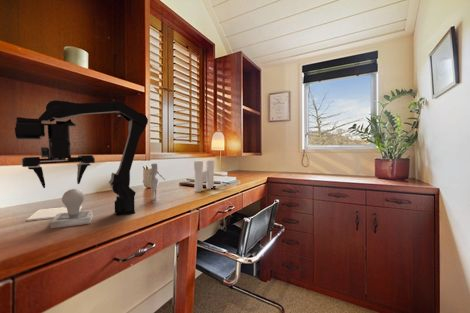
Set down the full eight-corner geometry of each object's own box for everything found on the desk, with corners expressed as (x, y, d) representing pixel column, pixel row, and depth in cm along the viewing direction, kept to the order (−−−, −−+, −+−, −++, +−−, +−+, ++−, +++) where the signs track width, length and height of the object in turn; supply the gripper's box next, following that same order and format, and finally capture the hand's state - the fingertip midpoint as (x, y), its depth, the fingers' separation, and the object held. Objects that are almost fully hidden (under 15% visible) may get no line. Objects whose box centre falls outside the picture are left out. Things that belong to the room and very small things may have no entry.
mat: (82, 207, 94) (82, 205, 94) (76, 215, 82) (76, 214, 82) (39, 211, 88) (39, 209, 88) (26, 221, 75) (26, 219, 75)
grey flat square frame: (93, 215, 83) (93, 209, 83) (90, 223, 74) (90, 217, 74) (58, 219, 78) (58, 213, 78) (50, 228, 69) (50, 222, 69)
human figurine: (162, 197, 114) (162, 162, 113) (167, 198, 111) (167, 163, 111) (140, 201, 104) (140, 163, 104) (144, 203, 102) (144, 164, 101)
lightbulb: (81, 217, 80) (80, 187, 80) (87, 220, 76) (86, 189, 76) (60, 221, 75) (59, 189, 75) (65, 225, 71) (64, 191, 71)
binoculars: (209, 187, 147) (209, 160, 146) (215, 188, 144) (216, 160, 143) (192, 191, 132) (192, 161, 131) (199, 192, 129) (199, 161, 128)
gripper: (85, 140, 87) (87, 180, 87) (19, 140, 73) (22, 187, 74) (94, 139, 79) (96, 183, 80) (21, 139, 65) (24, 191, 66)
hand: (62, 185), depth 75 cm, fingers open, 9 cm apart
